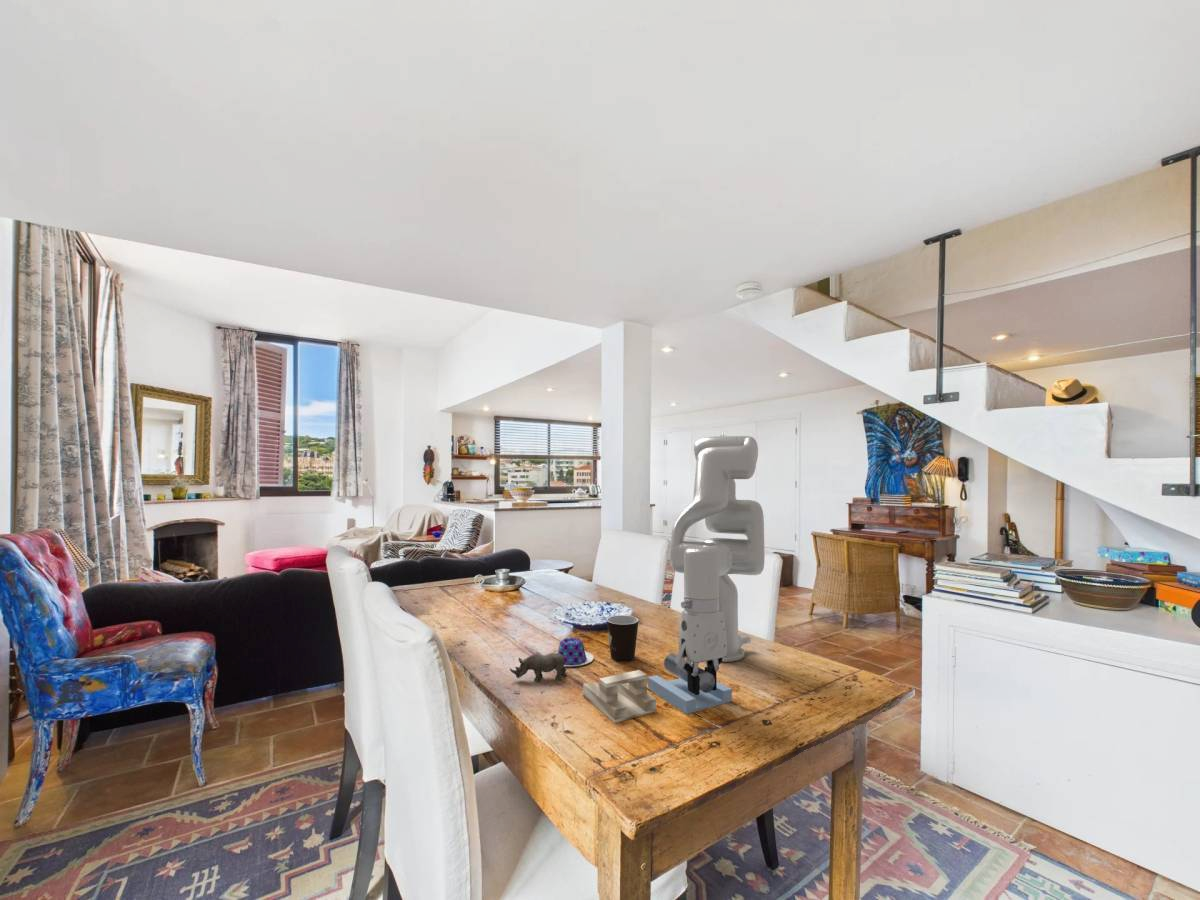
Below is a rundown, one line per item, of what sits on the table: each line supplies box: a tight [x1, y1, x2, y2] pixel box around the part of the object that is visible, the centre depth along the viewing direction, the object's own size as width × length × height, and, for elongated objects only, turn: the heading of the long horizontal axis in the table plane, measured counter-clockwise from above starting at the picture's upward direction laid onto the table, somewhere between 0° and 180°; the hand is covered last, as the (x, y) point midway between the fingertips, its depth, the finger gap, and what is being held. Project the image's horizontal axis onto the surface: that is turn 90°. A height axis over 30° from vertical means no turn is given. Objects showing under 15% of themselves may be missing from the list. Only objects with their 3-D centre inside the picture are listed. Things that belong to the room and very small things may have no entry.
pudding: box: [554, 637, 594, 667], centre depth 133 cm, size 12×12×5 cm
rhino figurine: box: [509, 652, 567, 683], centre depth 121 cm, size 4×14×6 cm, turn 101°
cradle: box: [647, 674, 733, 715], centre depth 112 cm, size 12×14×3 cm
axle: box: [663, 652, 715, 693], centre depth 112 cm, size 13×4×4 cm, turn 29°
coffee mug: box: [606, 614, 639, 663], centre depth 137 cm, size 12×9×10 cm
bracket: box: [582, 669, 657, 723], centre depth 108 cm, size 10×14×6 cm
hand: (702, 689), depth 108 cm, fingers closed on axle, 4 cm apart
